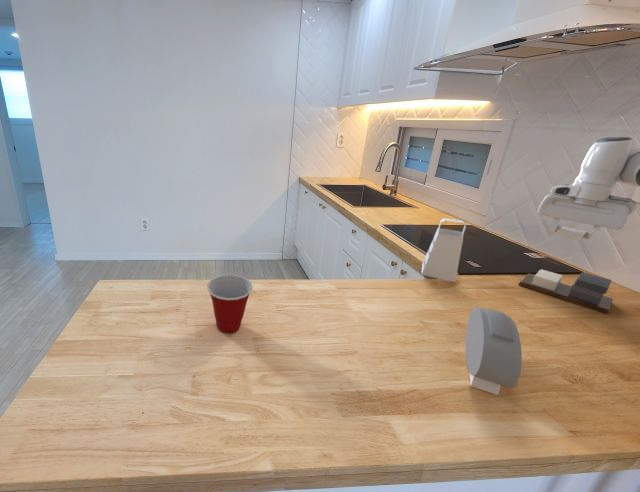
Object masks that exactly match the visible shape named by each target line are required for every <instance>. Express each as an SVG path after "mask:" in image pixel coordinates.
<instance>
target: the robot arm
mask: <svg viewBox="0 0 640 492" xmlns="http://www.w3.org/2000/svg"><path fill="white" fill-rule="evenodd" d="M617 183H619V184H624V185H627V186H632V187H633V186H634V187H637V188H640V146H639V145H637V144H636V143H635V142H634V139H633V137H629V136H628V137H627V136H610V137H602V138H600V139H597V140H596V141H595V142H593V144H592V145H591V146H590V148H589V149H588V151H587V153H586V155H585V157H584V159H583V161H582V163H581V166H580V172H579V174H578V175H577V176H576V178H575V179H574V182H573V183H572V184H568V183H567V184H561V185H560V184H559V185H555V186H553V187H551V190H550V193H549V194H547V195H546V196H545V197H544V198H543V200H542V201H541V203H540V204H539V206H538V209H537V214H538V215H540V216H545V217H550V218H553V219H552V223H553V226H554V227H553V229H552V232H553V233H554V232H555V233H557V231H558V230H559V229H561V228H562V226H561V225H559V223H558V222H559V221H560V220H564V221H571V222H575V223H580V224H586V225H592V226H593V227H592V229H593V230H591V231H587V232H585V235H584V237H583V239H586V240H590V239H591V236H592V235H593V234H595V233H596V232H598V231H600V229H601V228H607V229H611V230H616V231H619V230H622V229H624V227H625V225H626V223H627V220H628V218H629V215H631V214H632V213H634V211H635V210H636V208H637V202H636V201H635V200H633V199H632V198H630V197H621V196H617V195H612V194H613V193H612V192H613V191H614V189H615V187H616V185H617Z"/></svg>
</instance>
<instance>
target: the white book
mask: <svg viewBox="0 0 640 492" xmlns="http://www.w3.org/2000/svg"><path fill="white" fill-rule="evenodd" d="M585 232H588V231H587V230H582V229H577V228H572V227H568V226H561V229H559V230H558V231H557V232H555V237H560V238H564V239H568V240H572V241H577V242H581V241H582V240H583V239H584V238H583V237H584V235H585Z"/></svg>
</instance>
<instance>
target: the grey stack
mask: <svg viewBox="0 0 640 492" xmlns="http://www.w3.org/2000/svg"><path fill="white" fill-rule="evenodd" d="M611 284H612V279H610V278H605V277H602V276H599V275H595V274H592V273H587V272H583V271H581V273H580V274H579V276H576V279H575V280H574V282H573V283H572V285H571V286H572V287H571V289H570V290H571V291H570V293H569V295H568V296H571V297H574V298H577V299H581V300H584V301H587V302H590V303H593V304H596V305H599V303H600V301H601V299H602V297H603V296H604V295H606V293H607V292H608V290H609V288H610V285H611Z"/></svg>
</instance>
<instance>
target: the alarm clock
mask: <svg viewBox="0 0 640 492" xmlns="http://www.w3.org/2000/svg"><path fill="white" fill-rule="evenodd" d="M464 344H465V345H464V346H465V361H466V367H467V370H468V373H469V382H470V387H472V388H474V389H475V388H476V389H478V390H481V391H483V392H487V393H490V394H493V395H495V396H499V394H500V391H501V388H502V386H503V387H506V388H508V389H511V388H513V387H516V385H517V383H518V381H519V379H520V376H521V371H522V355H523V354H522V344H521V339H520V334H519V330H518V327H517V324H516V323H515V320H514V319H513V318H512V317H511V316H510V315H508V314H506V313H504V312H503V311H499V310H494V309H490V308H487V307H486V308H481V307H477V306H475V307H473V308H472V310H471V311H470V313H469V315H468V319H467V324H466V331H465V342H464Z"/></svg>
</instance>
